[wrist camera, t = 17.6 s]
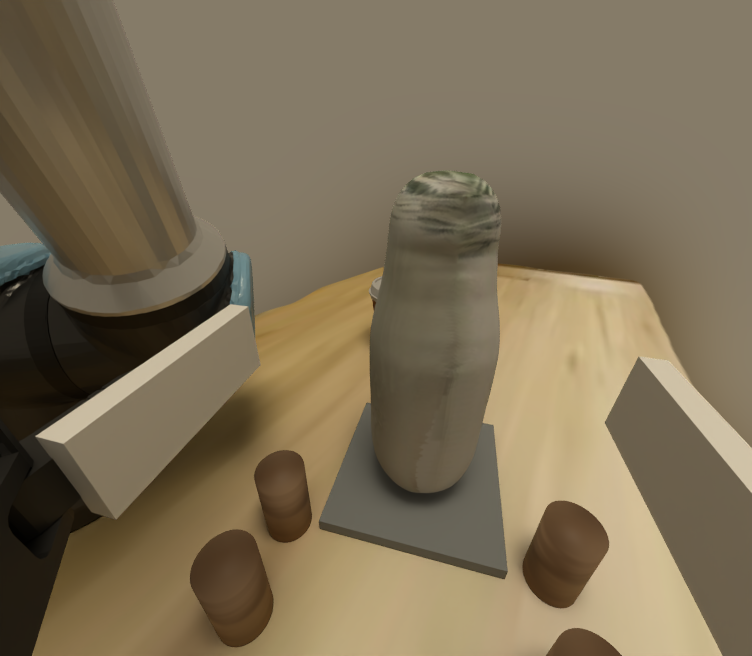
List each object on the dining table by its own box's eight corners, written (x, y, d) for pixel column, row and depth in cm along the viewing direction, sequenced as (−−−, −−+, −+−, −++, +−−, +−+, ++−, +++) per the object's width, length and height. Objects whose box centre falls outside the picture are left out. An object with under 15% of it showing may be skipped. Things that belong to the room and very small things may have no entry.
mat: (319, 528, 29) (318, 521, 29) (366, 409, 43) (366, 402, 42) (504, 579, 26) (507, 571, 25) (491, 432, 39) (493, 425, 39)
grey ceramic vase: (486, 499, 30) (577, 174, 17) (382, 523, 28) (392, 175, 15) (444, 424, 39) (483, 167, 25) (362, 438, 37) (356, 167, 23)
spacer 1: (214, 597, 25) (189, 547, 21) (267, 569, 26) (252, 519, 23) (218, 661, 22) (190, 614, 18) (278, 625, 23) (262, 576, 20)
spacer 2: (263, 510, 31) (250, 461, 27) (304, 492, 32) (296, 444, 29) (272, 551, 27) (259, 501, 24) (317, 528, 29) (310, 478, 26)
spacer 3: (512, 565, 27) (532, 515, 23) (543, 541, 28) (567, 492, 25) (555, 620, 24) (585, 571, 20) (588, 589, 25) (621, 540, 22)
